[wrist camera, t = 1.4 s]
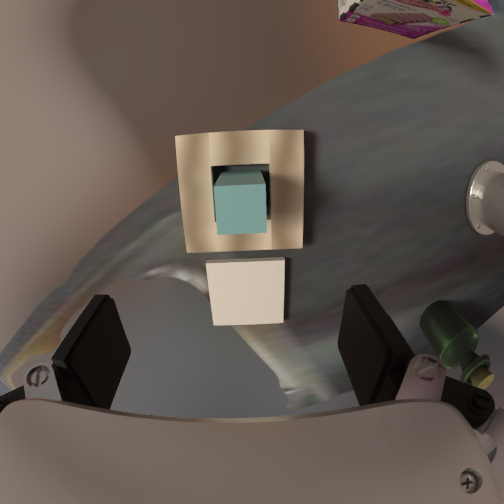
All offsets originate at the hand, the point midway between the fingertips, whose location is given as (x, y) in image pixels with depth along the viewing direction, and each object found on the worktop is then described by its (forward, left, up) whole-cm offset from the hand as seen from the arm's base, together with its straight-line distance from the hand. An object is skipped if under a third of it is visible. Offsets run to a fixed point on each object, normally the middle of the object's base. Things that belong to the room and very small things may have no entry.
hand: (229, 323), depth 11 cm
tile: (0, +14, -25) cm, 28 cm away
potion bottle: (-33, +22, -25) cm, 47 cm away
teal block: (0, 0, -25) cm, 25 cm away
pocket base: (0, 0, -25) cm, 25 cm away
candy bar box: (-18, -24, -25) cm, 39 cm away
